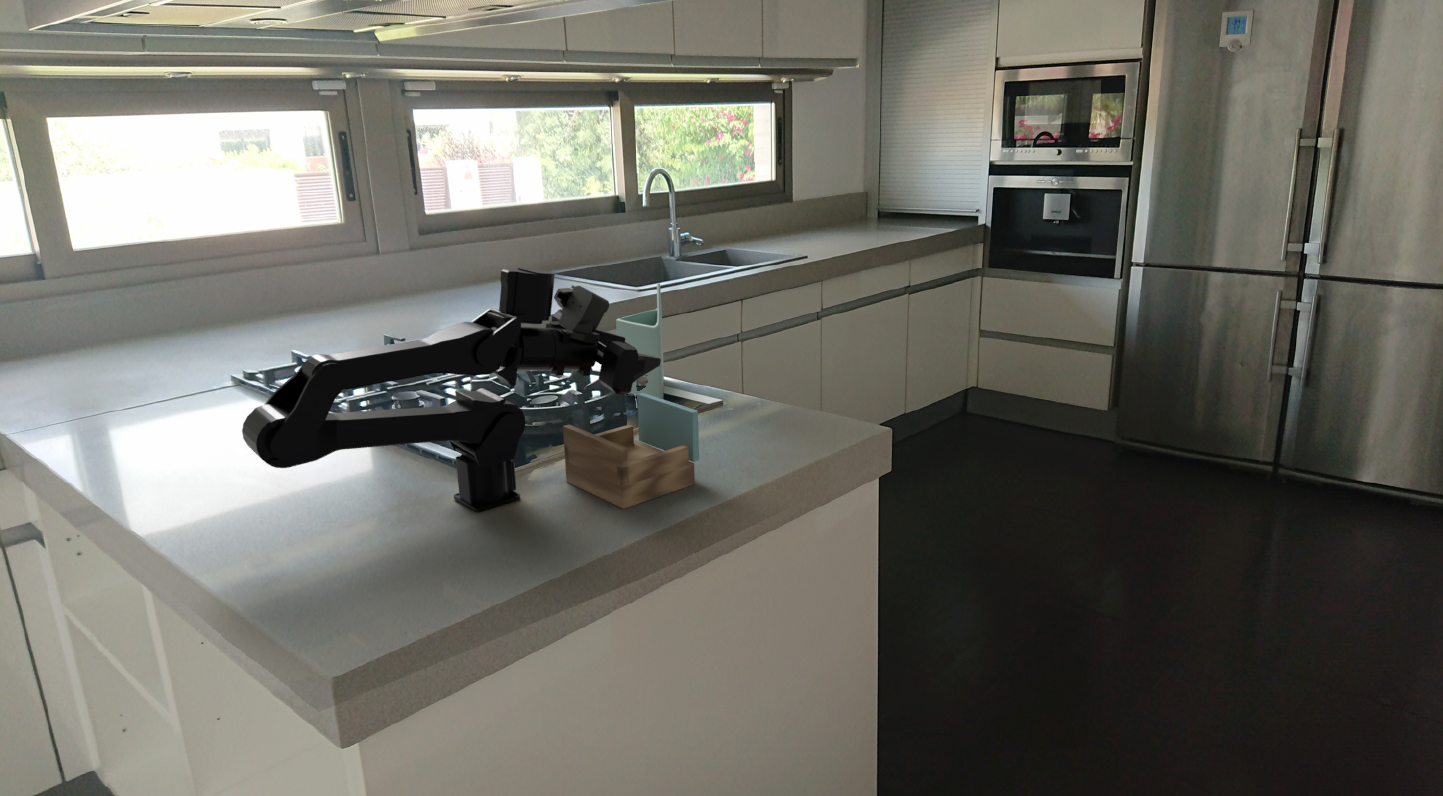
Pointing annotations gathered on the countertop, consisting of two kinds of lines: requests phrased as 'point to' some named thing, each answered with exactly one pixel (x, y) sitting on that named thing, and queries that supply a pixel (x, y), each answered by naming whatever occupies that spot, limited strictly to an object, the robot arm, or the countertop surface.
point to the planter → (646, 343)
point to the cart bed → (623, 466)
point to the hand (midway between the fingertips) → (641, 351)
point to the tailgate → (668, 425)
